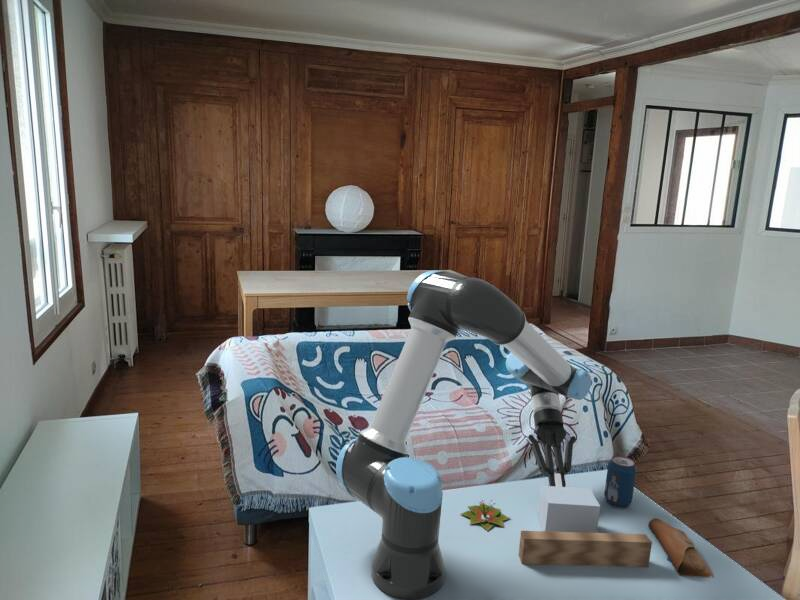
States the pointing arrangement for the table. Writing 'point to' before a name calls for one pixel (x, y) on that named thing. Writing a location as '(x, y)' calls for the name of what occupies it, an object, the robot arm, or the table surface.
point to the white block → (568, 510)
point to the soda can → (620, 482)
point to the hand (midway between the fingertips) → (559, 501)
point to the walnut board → (584, 548)
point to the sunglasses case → (679, 549)
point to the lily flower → (485, 510)
